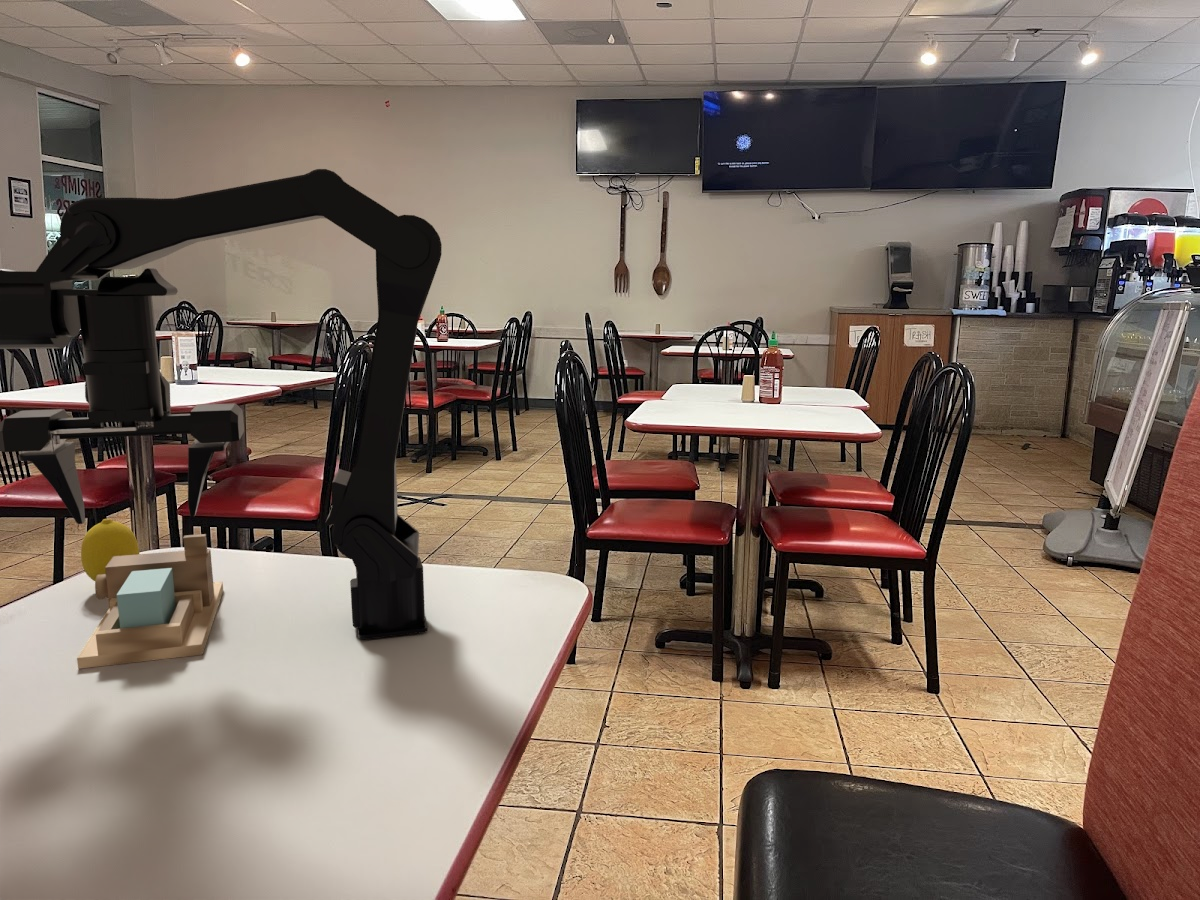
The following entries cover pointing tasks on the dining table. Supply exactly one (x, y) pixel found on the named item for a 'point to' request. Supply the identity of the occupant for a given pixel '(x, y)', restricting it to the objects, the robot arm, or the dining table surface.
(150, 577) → the teal block
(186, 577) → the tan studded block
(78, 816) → the dining table surface
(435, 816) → the dining table surface
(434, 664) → the dining table surface
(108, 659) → the jig
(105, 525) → the lemon
